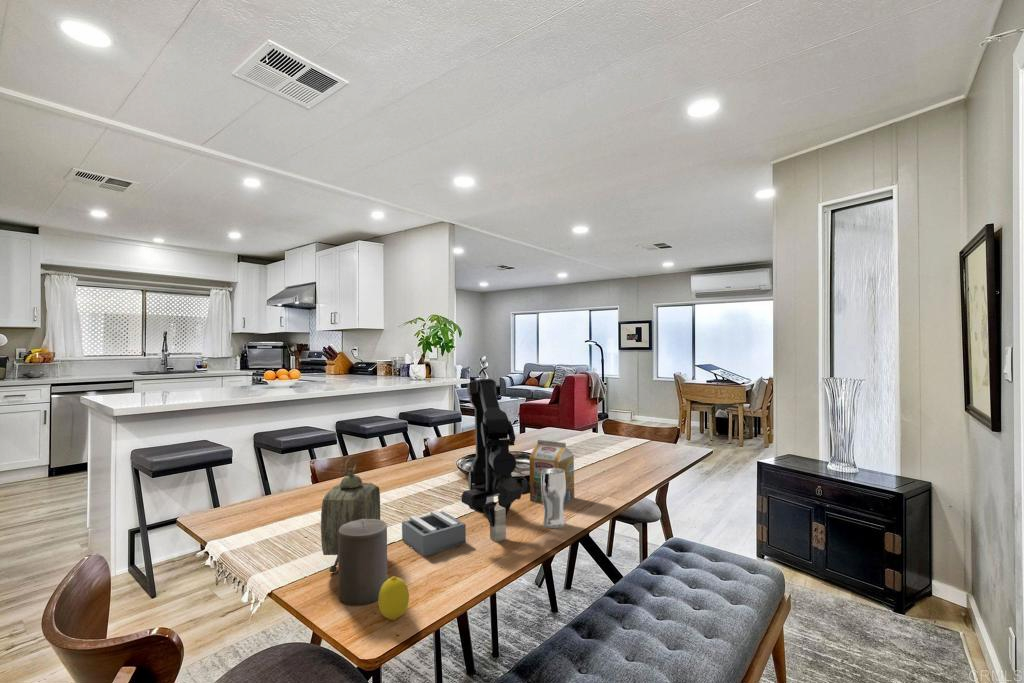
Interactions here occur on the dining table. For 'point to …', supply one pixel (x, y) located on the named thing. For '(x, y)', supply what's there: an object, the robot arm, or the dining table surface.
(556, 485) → the beer glass
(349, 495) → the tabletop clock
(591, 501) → the dining table surface
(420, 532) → the grey divided tray
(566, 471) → the milk carton
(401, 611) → the lemon
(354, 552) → the pillar candle
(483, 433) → the robot arm
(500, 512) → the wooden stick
